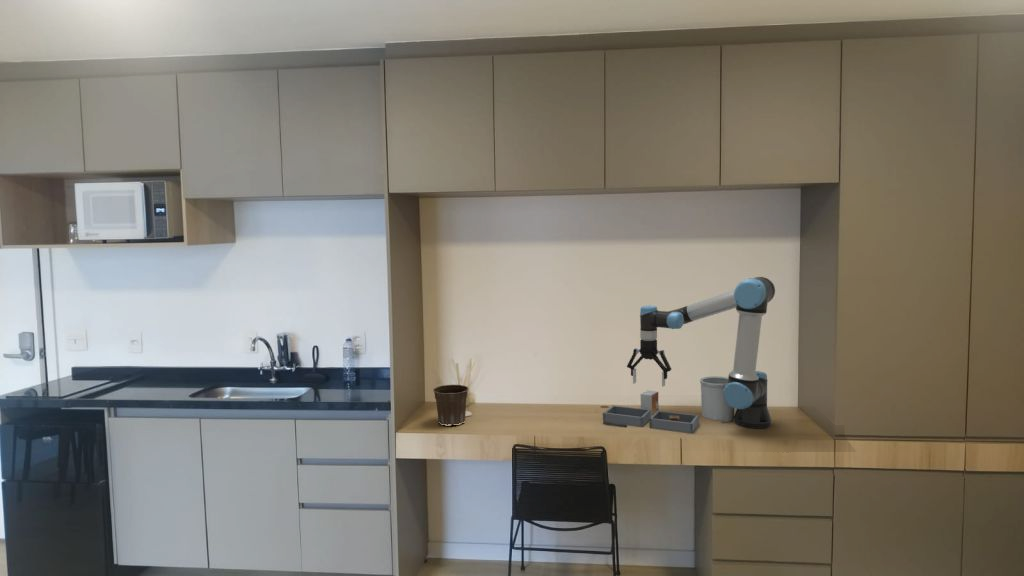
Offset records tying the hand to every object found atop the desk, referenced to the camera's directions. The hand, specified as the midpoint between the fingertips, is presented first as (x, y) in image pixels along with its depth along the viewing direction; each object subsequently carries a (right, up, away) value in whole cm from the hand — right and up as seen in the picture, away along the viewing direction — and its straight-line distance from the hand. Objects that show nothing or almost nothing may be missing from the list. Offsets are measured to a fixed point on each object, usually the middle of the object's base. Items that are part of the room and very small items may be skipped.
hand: (648, 384), depth 271 cm
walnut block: (+6, -15, -19) cm, 25 cm away
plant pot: (-91, -18, -1) cm, 93 cm away
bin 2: (+7, -16, -19) cm, 26 cm away
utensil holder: (+29, -14, -7) cm, 33 cm away
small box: (+1, -15, +1) cm, 15 cm away
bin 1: (-12, -16, -9) cm, 22 cm away
